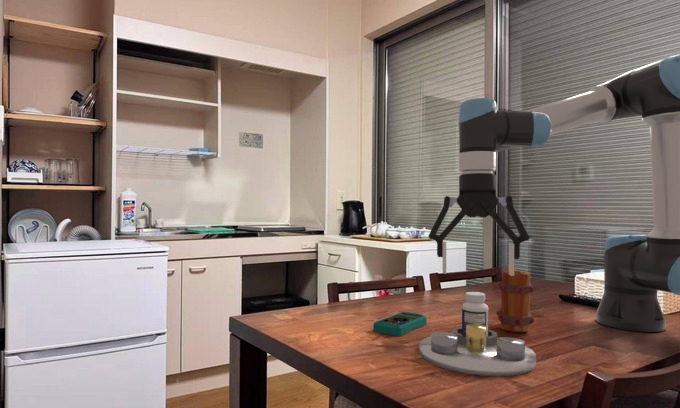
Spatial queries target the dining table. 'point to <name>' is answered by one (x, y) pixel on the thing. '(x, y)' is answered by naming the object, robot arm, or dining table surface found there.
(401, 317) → the digital multimeter
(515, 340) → the carrier
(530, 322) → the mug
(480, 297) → the pill bottle
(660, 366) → the dining table surface
